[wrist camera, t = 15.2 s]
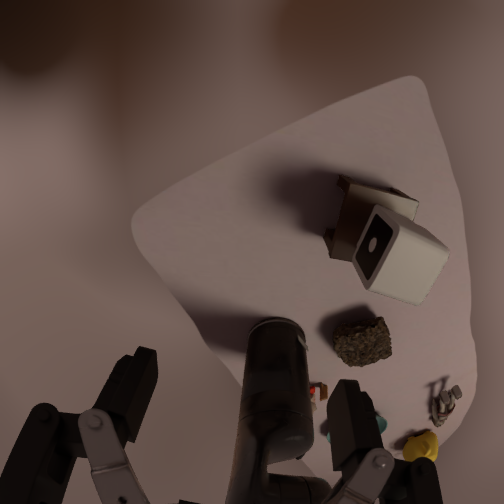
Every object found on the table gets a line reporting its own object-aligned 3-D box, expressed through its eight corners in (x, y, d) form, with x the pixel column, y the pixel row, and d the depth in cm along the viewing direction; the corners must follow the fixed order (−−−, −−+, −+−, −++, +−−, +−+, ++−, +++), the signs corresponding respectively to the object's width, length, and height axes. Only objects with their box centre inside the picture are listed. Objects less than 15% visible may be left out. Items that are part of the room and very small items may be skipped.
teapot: (428, 445, 65) (436, 470, 56) (397, 455, 67) (403, 482, 58) (438, 420, 58) (449, 449, 49) (403, 432, 60) (412, 463, 51)
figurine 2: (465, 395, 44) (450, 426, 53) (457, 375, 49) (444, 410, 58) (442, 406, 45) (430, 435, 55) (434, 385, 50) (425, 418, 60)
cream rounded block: (365, 195, 30) (401, 227, 21) (414, 217, 30) (457, 254, 21) (342, 245, 32) (366, 292, 23) (391, 263, 33) (424, 311, 24)
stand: (381, 250, 39) (396, 270, 33) (322, 238, 39) (329, 258, 33) (399, 189, 35) (419, 201, 29) (338, 173, 35) (350, 183, 29)
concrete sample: (327, 317, 44) (332, 338, 39) (388, 301, 42) (398, 320, 38) (336, 364, 48) (340, 385, 44) (389, 350, 47) (396, 370, 42)
